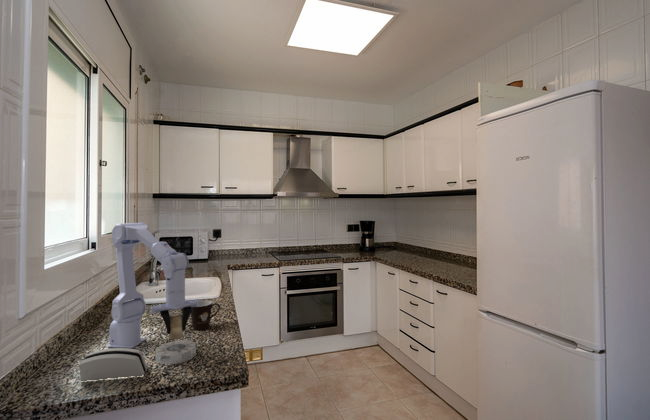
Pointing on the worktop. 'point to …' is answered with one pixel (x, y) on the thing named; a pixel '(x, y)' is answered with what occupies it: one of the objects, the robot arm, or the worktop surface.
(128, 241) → the robot arm
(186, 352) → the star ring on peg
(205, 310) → the coffee mug
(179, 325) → the tan cylinder
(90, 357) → the grey arched block
